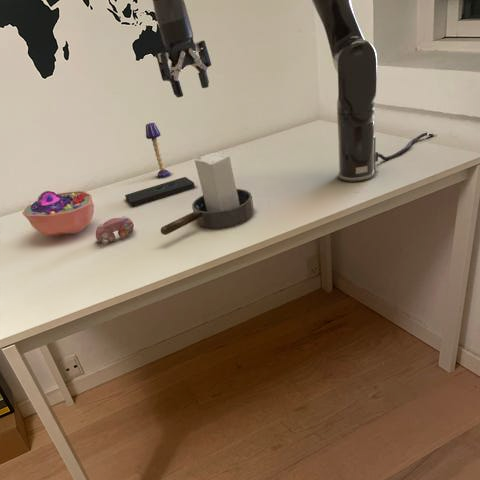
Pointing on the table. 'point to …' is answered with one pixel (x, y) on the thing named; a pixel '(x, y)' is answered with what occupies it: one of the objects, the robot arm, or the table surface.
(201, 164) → the cosmetic box
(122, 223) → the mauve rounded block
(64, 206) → the cell model
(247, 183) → the table surface
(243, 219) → the pan
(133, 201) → the smart home device
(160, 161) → the toy lamp
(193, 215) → the pan handle
